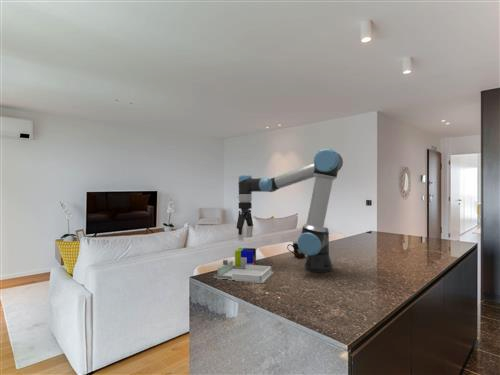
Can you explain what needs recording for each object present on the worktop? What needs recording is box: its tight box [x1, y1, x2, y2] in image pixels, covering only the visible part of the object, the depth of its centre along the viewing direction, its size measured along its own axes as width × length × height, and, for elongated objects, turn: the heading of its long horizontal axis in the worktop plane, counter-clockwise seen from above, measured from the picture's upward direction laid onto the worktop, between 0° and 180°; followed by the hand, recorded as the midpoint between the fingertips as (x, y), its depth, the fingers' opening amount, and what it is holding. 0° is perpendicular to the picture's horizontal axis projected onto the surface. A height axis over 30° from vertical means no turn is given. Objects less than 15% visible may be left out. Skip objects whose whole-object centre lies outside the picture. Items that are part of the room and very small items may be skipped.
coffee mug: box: [286, 241, 306, 259], centre depth 185 cm, size 12×9×10 cm
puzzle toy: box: [234, 247, 257, 267], centre depth 162 cm, size 10×10×10 cm
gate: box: [217, 259, 234, 275], centre depth 148 cm, size 2×17×6 cm, turn 160°
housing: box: [213, 264, 275, 284], centre depth 144 cm, size 26×19×3 cm
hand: (245, 238), depth 163 cm, fingers open, 13 cm apart
